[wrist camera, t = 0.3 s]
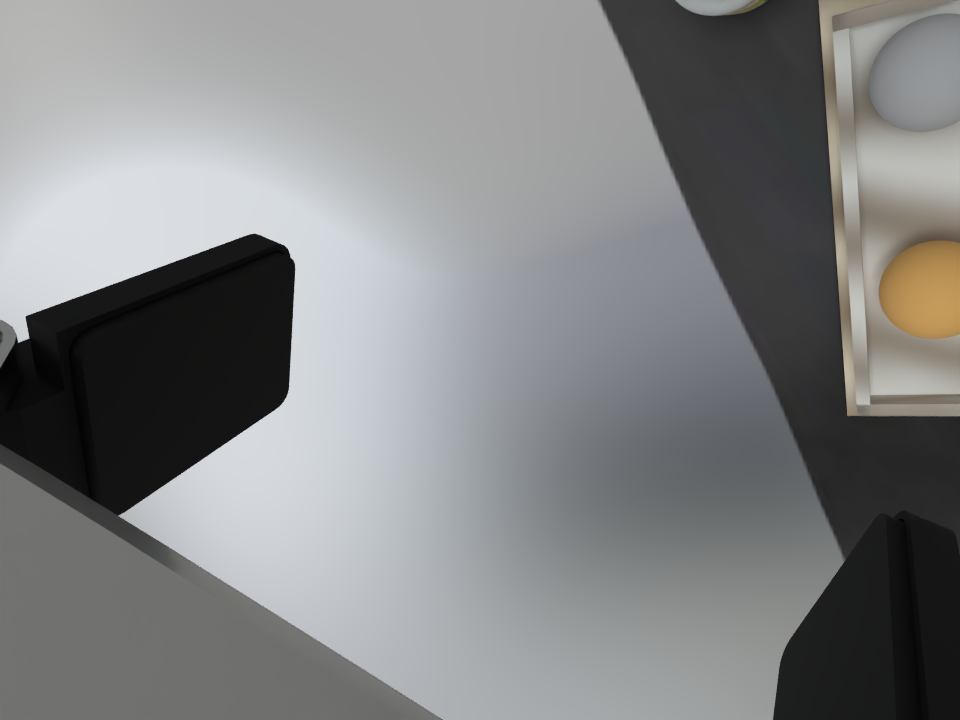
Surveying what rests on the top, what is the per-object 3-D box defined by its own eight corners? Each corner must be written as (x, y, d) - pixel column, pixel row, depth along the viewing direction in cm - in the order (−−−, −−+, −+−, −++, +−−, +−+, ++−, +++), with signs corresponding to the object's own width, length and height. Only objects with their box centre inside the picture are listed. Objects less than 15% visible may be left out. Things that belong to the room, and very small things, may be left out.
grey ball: (866, 29, 34) (865, 34, 30) (991, -2, 31) (1009, -2, 27) (871, 132, 35) (871, 150, 31) (990, 111, 33) (1007, 126, 29)
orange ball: (875, 235, 37) (876, 263, 33) (989, 222, 35) (1004, 251, 31) (880, 320, 39) (881, 356, 35) (988, 313, 36) (1002, 352, 33)
